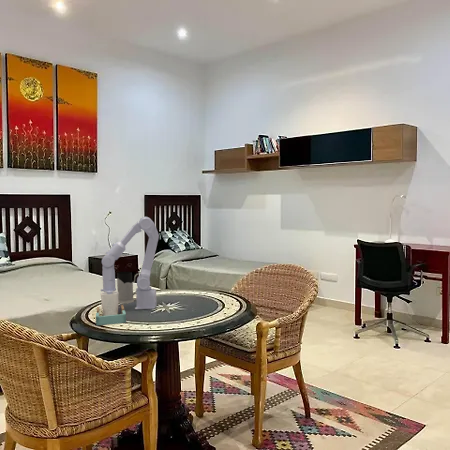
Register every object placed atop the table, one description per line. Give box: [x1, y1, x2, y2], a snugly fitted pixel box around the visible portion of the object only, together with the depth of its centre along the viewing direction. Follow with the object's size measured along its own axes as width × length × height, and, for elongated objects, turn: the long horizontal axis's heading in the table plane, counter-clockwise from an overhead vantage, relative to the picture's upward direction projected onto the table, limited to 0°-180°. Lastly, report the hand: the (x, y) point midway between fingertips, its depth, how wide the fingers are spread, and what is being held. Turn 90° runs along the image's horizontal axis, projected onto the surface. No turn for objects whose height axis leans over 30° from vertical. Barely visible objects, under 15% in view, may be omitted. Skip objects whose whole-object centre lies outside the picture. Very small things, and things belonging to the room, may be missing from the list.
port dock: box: [95, 309, 127, 326], centre depth 193 cm, size 12×8×4 cm, turn 105°
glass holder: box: [116, 271, 138, 305], centre depth 232 cm, size 9×14×15 cm, turn 127°
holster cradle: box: [96, 304, 125, 314], centre depth 206 cm, size 12×8×3 cm, turn 105°
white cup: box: [100, 290, 119, 316], centre depth 205 cm, size 8×8×10 cm
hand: (110, 308), depth 214 cm, fingers closed
